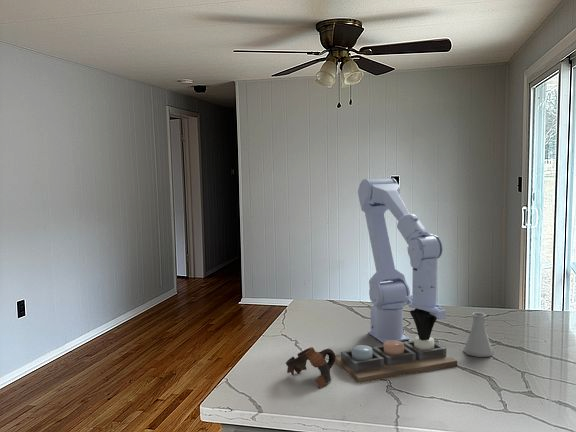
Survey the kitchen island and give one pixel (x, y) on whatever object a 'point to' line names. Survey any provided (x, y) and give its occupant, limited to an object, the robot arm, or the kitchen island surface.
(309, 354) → the brown animal figure
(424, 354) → the three-slot key tray
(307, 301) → the kitchen island surface
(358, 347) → the pale blue dome
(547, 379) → the kitchen island surface
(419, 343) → the cream rounded piece
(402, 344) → the terracotta key
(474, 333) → the flask
